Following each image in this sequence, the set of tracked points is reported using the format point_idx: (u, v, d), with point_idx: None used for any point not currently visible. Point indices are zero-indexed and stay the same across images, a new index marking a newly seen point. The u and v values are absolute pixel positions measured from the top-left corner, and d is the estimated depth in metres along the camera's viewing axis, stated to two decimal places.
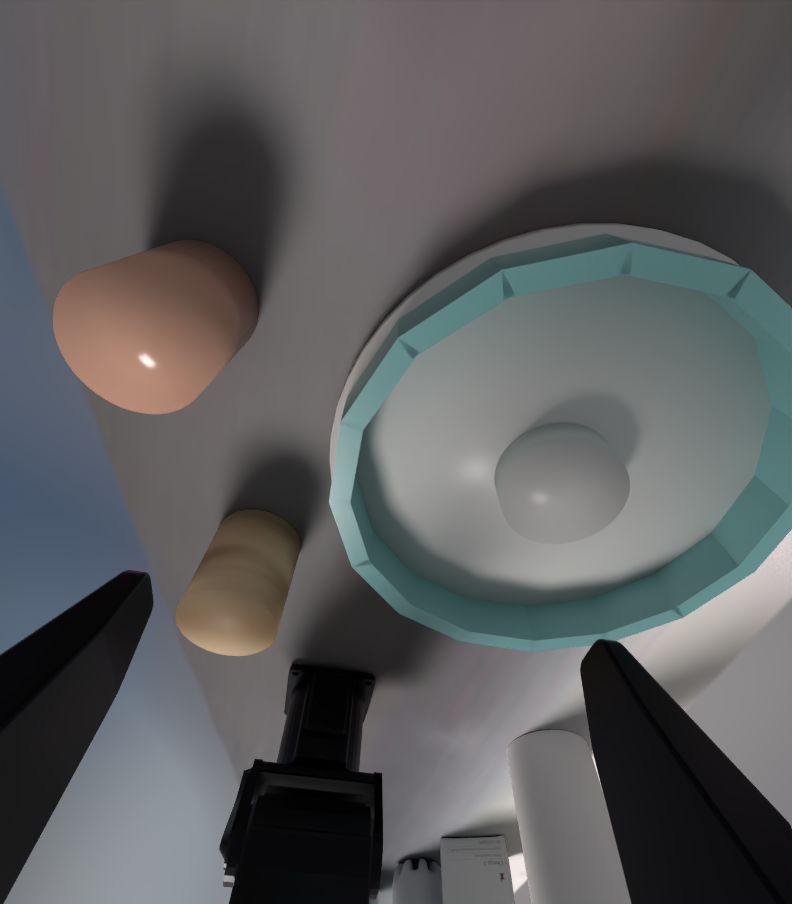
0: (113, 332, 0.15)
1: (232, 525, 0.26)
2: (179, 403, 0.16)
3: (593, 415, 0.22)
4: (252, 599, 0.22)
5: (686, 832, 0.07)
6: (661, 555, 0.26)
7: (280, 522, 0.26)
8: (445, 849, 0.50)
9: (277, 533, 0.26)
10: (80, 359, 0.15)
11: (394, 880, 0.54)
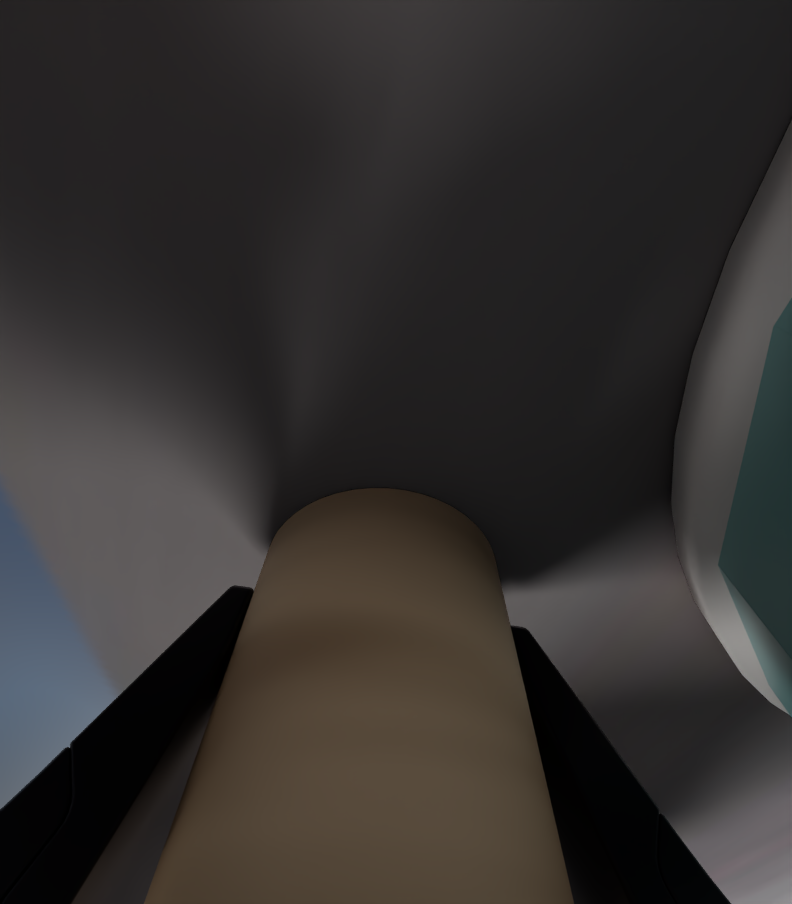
0: None
1: (329, 538, 0.08)
2: None
3: None
4: None
5: (559, 818, 0.06)
6: None
7: (467, 530, 0.09)
8: None
9: (474, 563, 0.08)
10: None
11: None
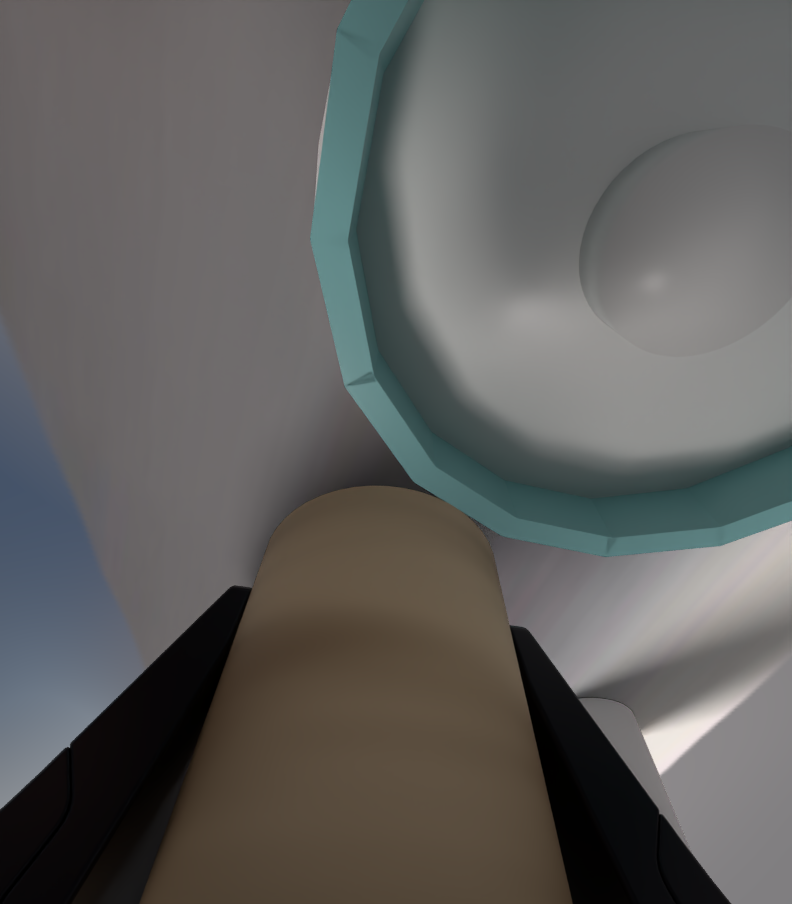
0: None
1: (327, 535, 0.08)
2: None
3: (765, 115, 0.13)
4: None
5: (559, 819, 0.06)
6: None
7: (466, 527, 0.09)
8: None
9: (473, 560, 0.08)
10: None
11: None
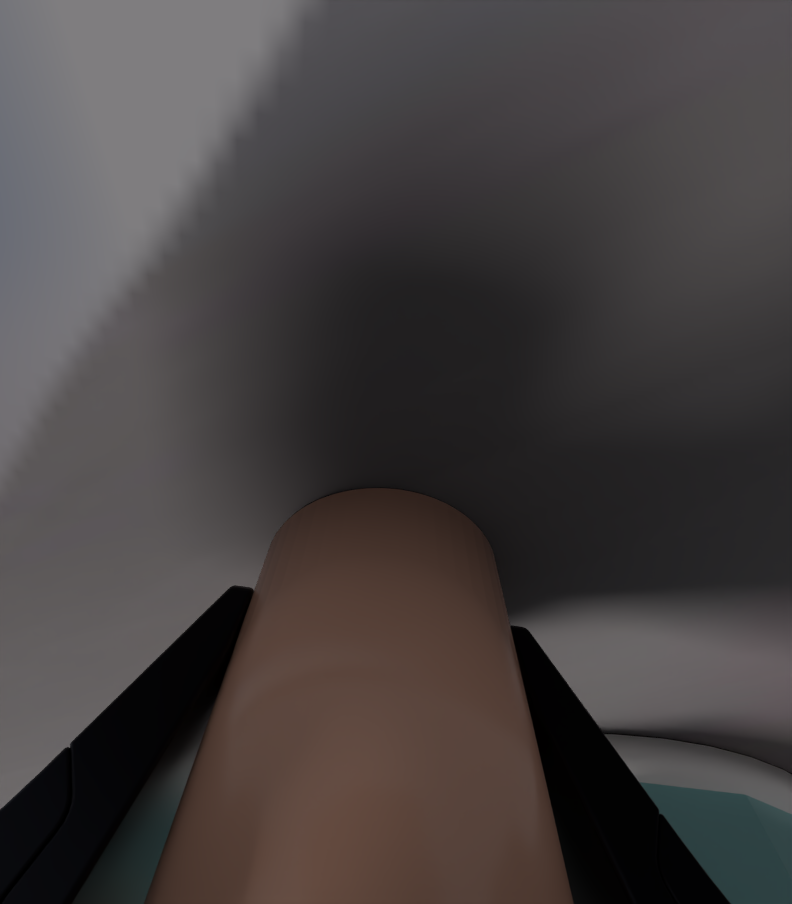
0: None
1: None
2: None
3: None
4: None
5: (559, 818, 0.06)
6: None
7: None
8: None
9: None
10: None
11: None
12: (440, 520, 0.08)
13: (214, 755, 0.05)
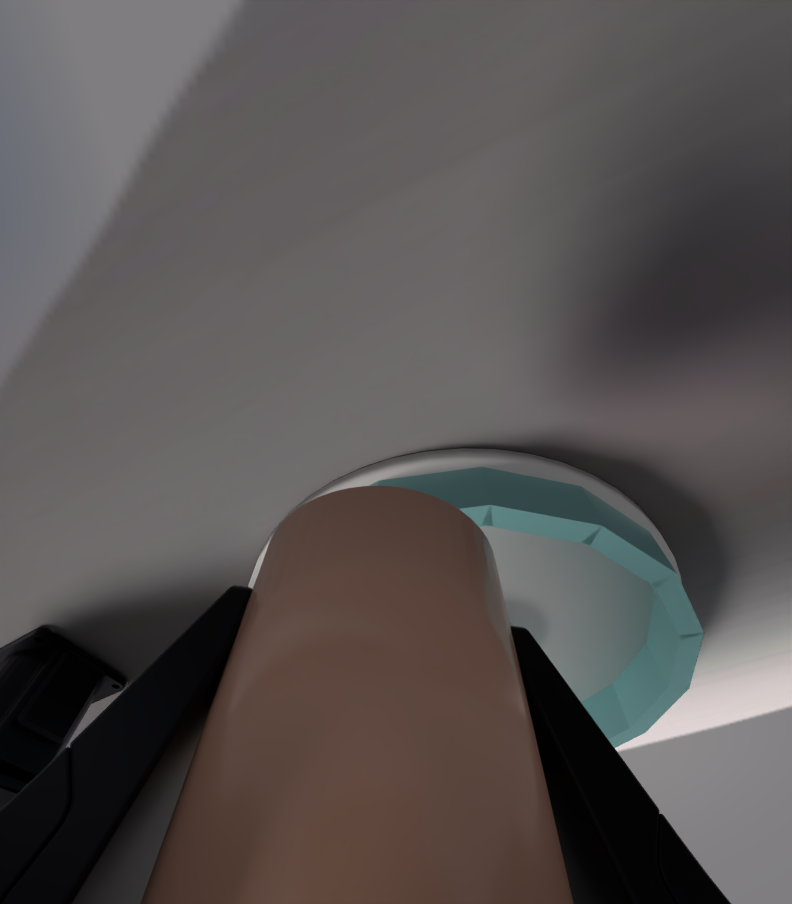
0: None
1: None
2: None
3: (523, 621, 0.24)
4: None
5: (560, 818, 0.06)
6: None
7: None
8: None
9: None
10: None
11: None
12: (439, 518, 0.08)
13: (212, 753, 0.05)
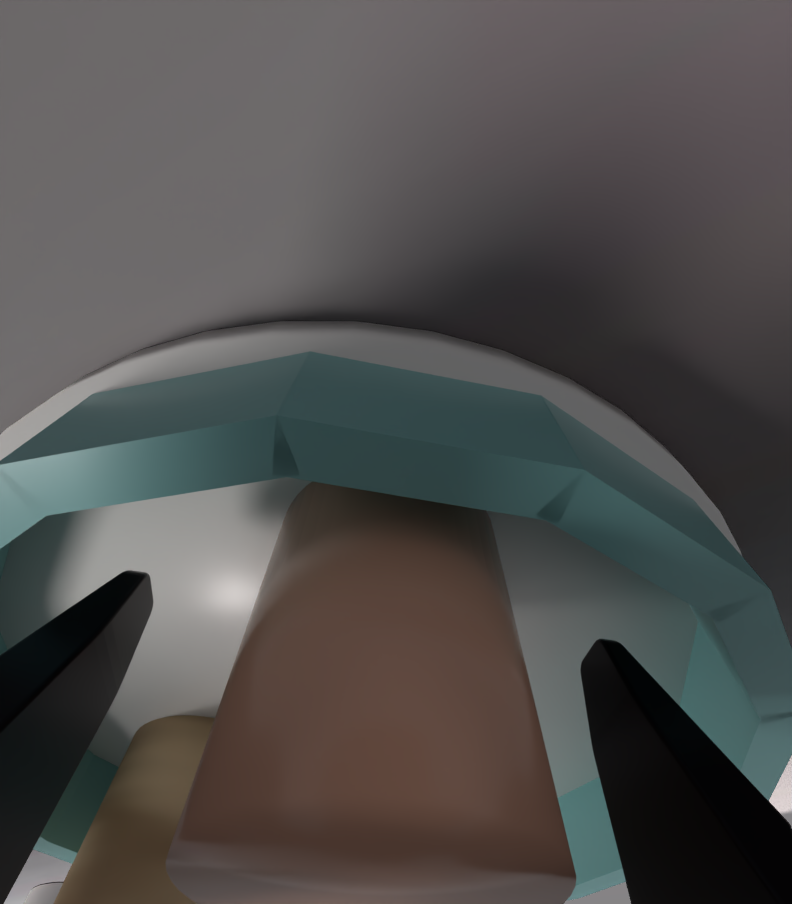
0: (376, 867, 0.05)
1: None
2: None
3: None
4: None
5: (686, 832, 0.07)
6: None
7: None
8: None
9: None
10: (228, 849, 0.05)
11: None
12: None
13: (246, 676, 0.06)
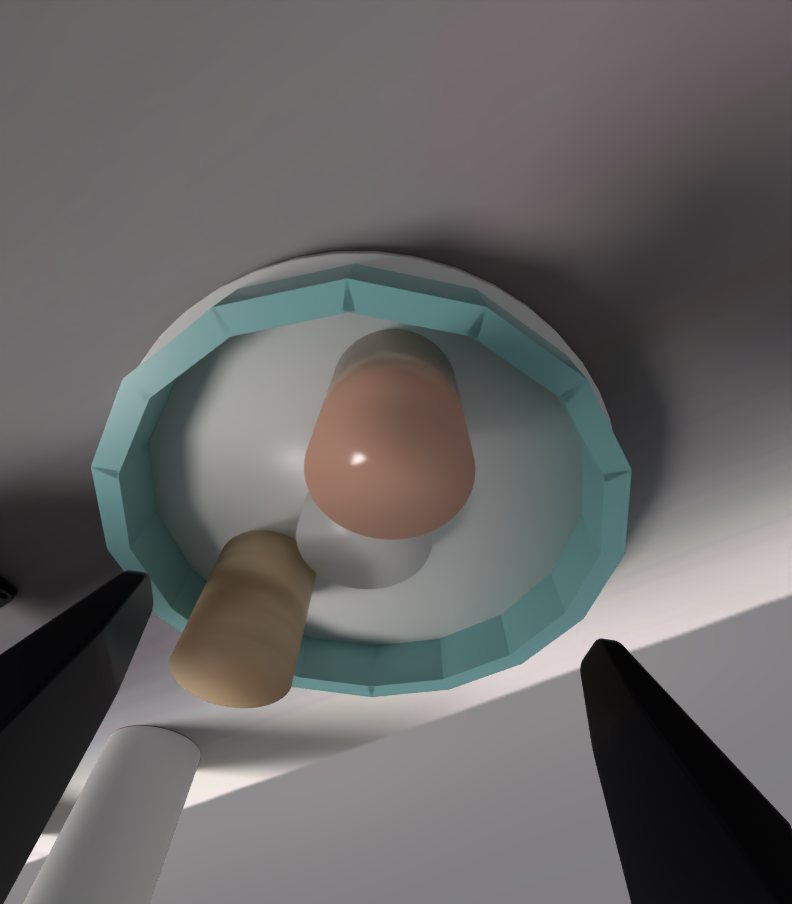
0: (392, 456, 0.13)
1: (279, 552, 0.22)
2: (360, 529, 0.14)
3: None
4: (291, 671, 0.19)
5: (686, 832, 0.07)
6: (391, 635, 0.27)
7: (314, 571, 0.23)
8: None
9: (312, 584, 0.23)
10: (333, 440, 0.13)
11: None
12: (424, 341, 0.17)
13: (332, 396, 0.14)
